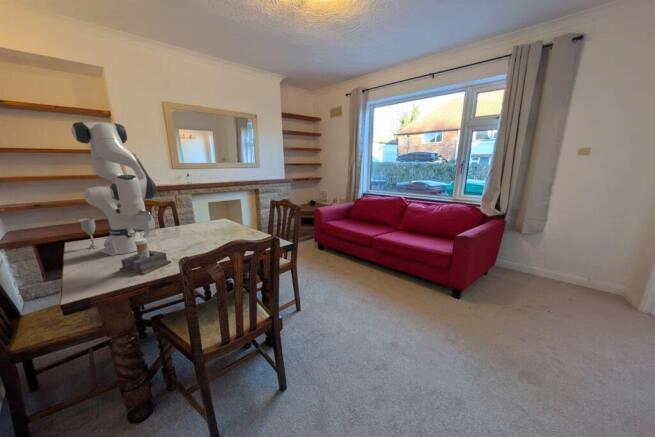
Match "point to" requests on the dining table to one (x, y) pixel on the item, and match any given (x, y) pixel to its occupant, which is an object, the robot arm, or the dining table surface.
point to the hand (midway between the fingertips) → (139, 237)
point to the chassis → (144, 263)
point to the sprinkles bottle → (142, 248)
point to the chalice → (89, 229)
